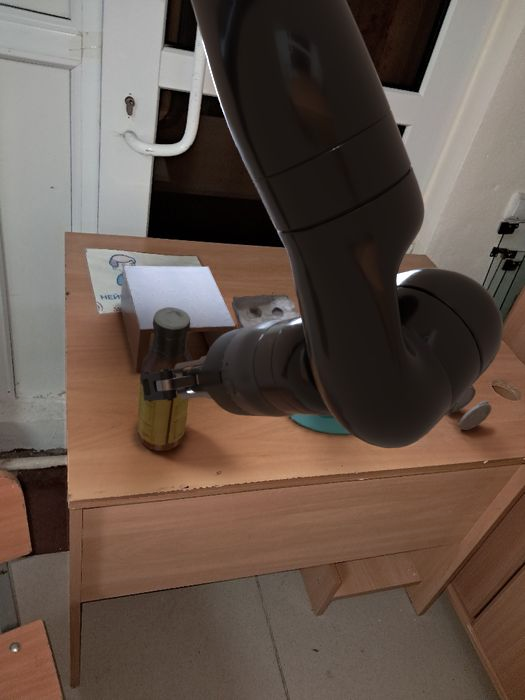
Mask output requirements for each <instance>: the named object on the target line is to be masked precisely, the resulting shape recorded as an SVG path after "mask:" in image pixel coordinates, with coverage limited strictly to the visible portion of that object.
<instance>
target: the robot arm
mask: <svg viewBox="0 0 525 700" xmlns="http://www.w3.org/2000/svg"><path fill="white" fill-rule="evenodd" d="M190 3H191V7H192V9H193V12H194V16H195V21H196V23H197V27H198V31H199V34H200V35H199V36H200V38H201V42H202V44H203V45H202V46H203V50H204V53H205V56H206V59H207V64H208V68H209V71H210V74H211V77H212V81H213V85H214V88H215V91H216V95H217V97H218V98H217V99H218V101H219V103H220V108H221V109H222V112H223V115H224V118H225V120H226V123H227V127H228V128H229V131H230V135H231V136H232V139H233V141H234V144H235V147H236V149H237V150H238V153H239V155H240V157H241V160H242V162H243V164H244V166H245V169H246V170H247V172H248V175H249V177H250V179H251V180H252V183H253V185H254V188H255V189H256V191H257V193H258V195H259V198H260V200H261V202H262V205H263V206H264V208H265V210H266V212H267V214H268V216H269V219H270V220H271V222H272V224H273V226H274V228H275V230H276V233H277V235H278V236H279V238H280V241H281V242H282V244H283V246H284V249H285V251H286V253H287V257H288V261H289V264H290V270H291V275H292V280H293V281H292V282H293V287H294V292H295V296H296V301H297V306H298V310H299V316H298V317H294V318H290V319H287V320H271V321H266V322H262V323H258V324H255V325H251V326H247V327H243V328H235V330H232V331H230V332H227V333H225V334H223V335H222V336H221V337H219V338H218V339H217V340H216V341H215V342H214V343H213V344H212V346H211V347H210V348H208V350H207V353H206V355H203V356H201V357H200V358H199V359H195V360H193V361H189V362H183V363H177V364H176V365H175V368H174V369H173V370H168V369H163V370H160V371H161V372H155V373H149V372H145V373H144V374H143V375H140V374H139V378H140V377H141V380H142V386H143V392H144V401H147V400H148V402H149V401H154V400H167V401H170V400H173V398H177V395H178V396H179V397H180V398H181V399H183V400H184V399H189V400H191V399H199V398H207V399H208V400H211V399H212V400H213V402H215V404H216V405H217V406H219V408H221V409H222V410H224V411H226V412H228V413H229V414H232V415H237V416H246V417H249V416H250V417H268V418H269V417H270V418H284V417H285V418H287V417H290V416H291V415H333V416H334V418H335V419H336V420H337V421H338V422H339V423H340V424H341V425H342V426H343V427H344V428H345V429H346V430H347V431H348V432H349V433H351V434H350V435H352V436H353V437H355V438H357V439H358V440H360V441H362V442H364V443H366V444H368V445H371V446H374V447H378V448H383V449H399V448H400V449H401V448H404V447H407V446H410V445H413V444H414V443H416V442H418V441H419V440H421V439H422V438H424V437H425V436H426V435H428V434H429V433H430V432H431V430H433V429H434V427H436V426H437V424H438V423H439V422H440V421H441V420H442V419H443V418H444V417H445V416H446V415H447V413H449V412H448V411H449V410H450V408H451V407H452V406H453V405H454V404H455V403H456V402H457V401H458V400H459V399H460V398H461V397H462V396H463V394H464V393H465V392H466V391H467V390H468V389H469V388H470V387H471V386H472V385H473V386H474V384H475V383H476V382H477V381H478V380H479V379H480V377H482V375H483V374H484V373H485V372H486V371H487V370H488V369H489V367H490V366H491V364H492V363H493V362H494V360H495V358H496V356H497V355H498V353H499V351H500V348H501V345H502V340H503V336H504V322H503V321H504V320H503V316H502V312H501V311H500V307H499V305H498V304H497V302H496V300H495V298H494V297H493V295H492V294H491V293H490V291H489V290H487V288H485V287H484V286H483V285H482V284H481V283H480V282H479V281H476V280H475V279H473V278H472V277H470V276H468V275H466V274H463V273H461V272H459V271H455V270H453V269H447V268H443V267H420V268H414V269H413V268H412V269H409V270H405V271H402V272H399V270H400V267H401V265H402V262H403V259H404V258H405V256H406V254H407V252H408V250H409V249H410V247H411V246H412V244H413V242H414V241H415V240H416V238H417V236H418V234H419V233H420V230H421V229H422V226H423V224H424V218H425V213H426V212H425V210H426V209H425V202H424V198H423V194H422V191H421V187H420V184H419V181H418V179H417V175H416V173H415V170H414V167H413V166H412V162H411V159H410V156H409V154H408V151H407V148H406V146H405V143H404V140H403V138H402V135H401V132H400V129H399V127H398V124H397V121H396V119H395V115H394V113H393V111H392V110H391V106H390V103H389V100H388V98H387V95H386V92H385V89H384V87H383V84H382V82H381V80H380V77H379V74H378V72H377V69H376V67H375V64H374V62H373V59H372V57H371V55H370V52H369V50H368V47H367V45H366V42H365V40H364V38H363V35H362V33H361V31H360V29H359V27H358V24H357V21H356V20H355V16H354V15H353V13H352V10H351V8H350V6H349V4H348V1H347V0H190ZM192 366H193V368H191V367H192ZM174 375H176V377H177V378H174ZM176 389H177V390H176Z"/></svg>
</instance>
